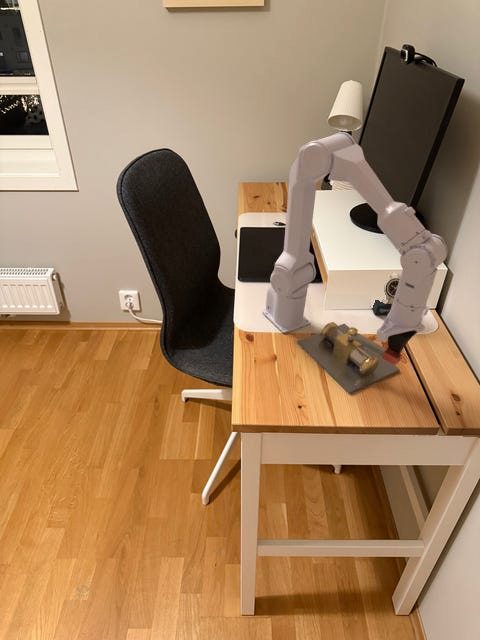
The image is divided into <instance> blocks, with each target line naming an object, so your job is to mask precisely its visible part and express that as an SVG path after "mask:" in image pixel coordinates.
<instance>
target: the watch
mask: <svg viewBox="0 0 480 640" xmlns="http://www.w3.org/2000/svg"><path fill="white" fill-rule="evenodd" d="M400 276H401V275H400V274H399V272H398V273H393V274H389V276H388V277H387V280H386V283H385V285H384V292H385V295H386V300H384V299H383V300H382V302H380V301H379V300H375V303H374V305H373V308H371V311H372V313H373V315H374V317H375V316H377V317H379V316H380V317H387V315H388V313H389V312H390V310H391V307H392V304H393V300H394V297H395V293H396V290H397V287H398V283H399V280H400Z"/></svg>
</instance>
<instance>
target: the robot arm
mask: <svg viewBox="0 0 480 640" xmlns="http://www.w3.org/2000/svg"><path fill="white" fill-rule="evenodd" d="M328 174H329V176H328ZM326 176H328V178H327V180H329V181H333V182H334V181H336V182H344V183H345V182H346V183H348V184H349V185H350V186H352V188H353V189H354V190H355V191H356V192H357V193H358V195H359V196H360V197H361V198H362V199H363V200H364V201H365V202H366V203H367V204H368V205H369V206H370V207H371V209H372V210H373V211H374V212H375V213H376V214H377V226H378V228H379V229H380V230H381V231H382V232H383V234H384V235H385V236H386V238H387V239H388V240H389V242H390V243H391V244H392V246H393V247H395V249H396V251H398V253H399V254H400V260H399V261H400V262H399V263H400V266H401V268H402V271H401V274H400V275H399V276H400V280H399V283H398V287H397V290H396V293H395V297H394V300H393V304H392V307H391V310H390V312H389V313H388V315H387V316H385V319H384V321H383V323H382V325H381V326H380V327H379V328H378V329H377V331H376V334H375V337H374V338H375V339H377V340H378V341H380V342H382V343H383V344H384V343H386V342H387V349H388V348H390V349H391V350H393V351H395V352H397V353H399V354H401V353H402V351H403V350H404V348H405V346H406V345H407V344H408V342H409V341H410V340H411V339H412V338H413V337H414V336H415V335H416V334H417V333H421V332H423V330H425V327H426V326H425V324H422V321H423V318H424V317H425V316H426V315H427V314H428V312H429V309H430V306H429V305H428V304H427V303H428V300H429V298H430V297H429V296H430V295H431V291H432V290H433V289H432V288H433V285H434V283H435V278H436V276H437V273H438V269H439V268H438V267H439V266H440V265H442V264H443V263H444V261H445V260H446V259H447V256H448V253H449V252H448V246H447V244H446V242H445V240H444V238H443V237H442V236H440V235H438V234H435V233H432V232H431V231H430V230H428V229H426V228H425V227H424V225H423V224H422V223H421V221H420V220H419V219H418V217H416V215H415V214H416V210H415V209H414V208H413V207H412V206H409V207H408V205H407V204H406V203H403V202H399V201H395V200H394V199H393V198H392V196H391V194H389V191H388V190H387V189H386V188H385V186H384V185H383V183H382V182H381V180H380V179H379V177H378V176H377V174H376V173H375V171H374V170H373V168H371V166H370V165H369V163H368V161H366V159H365V155H364V151H363V148H362V147H361V146H360V145H359V144H358V143H357V142H356V141H355V139H354V137H353V136H352V135H351V134H349V133H348V132H345V131H340V132H336V133H333V134H332V135H329V136H326V137H324V138H320V139H316V140H311V141H309V142H307V143H306V144H304V145H303V146H301V147H300V148H298V151H297V157H296V159H295V161H294V162H293V164H292V166H291V168H290V170H289V177H288V179H289V181H288V190H287V203H286V218H285V219H286V220H285V228H284V229H285V231H284V241H283V244H284V245H283V250H282V253H281V254H280V256H279V257H278V259H277V260H276V262H274V269H273V271H272V273H271V275H270V281H269V282H270V284H269V286H268V288H267V291H266V301H265V309H264V310H262V312H261V313H262V314H263V315H264V316H265V317H266V318H267V319H268V320H269V321H270V322H271V323H272V324H273V325H274V326H275V327H276V328H277V329H278V330H280V332H281V333H283V334H285V333H289V332H291V331H295V330H297V329H300V328H303V327H305V326H309V325H310V324H311V321H310V320H309V319H307V318H306V316H305V315H304V313H305V307H306V303H307V302H306V301H307V295H308V289H309V286H310V283H311V282H313V280H314V279H315V278H316V275H317V270H316V266H315V256H314V254H312V252H310V245H311V237H312V229H313V222H314V221H313V220H314V210H315V203H316V192H317V185H318V182H319V181H320V180H321V179H324V178H325V177H326Z"/></svg>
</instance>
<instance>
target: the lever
mask: <svg viewBox="0 0 480 640" xmlns="http://www.w3.org/2000/svg"><path fill="white" fill-rule="evenodd" d="M348 334H349V335H348V341H351V342H352V341H354V340H355V341H357V342H358V343H360V344H362V345H364V346H365V347H367V348H369V349H371V350H373V351H374V352H376V353H378V354H380V355H381V356H382V358H383V359H385V360H387V361H389V362H390V363H392V364H394V365H395V366H397V364H398V363H399V362H400V361H401V358H402V354H401V353H400V354H399V353H397V352H395V351H393V350H391V349H390V348H388V347H387V348H385V347H384V346H382V345H380V344H379V343H377V342H375V341H374V340H371V339H370V338H367V337H366V336H364V335H363V334H360V333H359V330H358V329H357V328H356V327H349V329H348Z"/></svg>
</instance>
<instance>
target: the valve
mask: <svg viewBox="0 0 480 640" xmlns="http://www.w3.org/2000/svg"><path fill="white" fill-rule="evenodd" d="M349 328H350V327H349V326H348V325H347V324H346V323H342V324H340V325H338V324H337V323H336V322H334V321H332V322H328V323H327V324H326V325H325V326H324V327H323V328H322V329H321V332H317V333H315V334H312V335H310V336H307V337H304V338H301V339H299V340H296V342H297V345H298V346H300V347H301V349H303V351H304V352H305V353H306V354H307V355H308V356H310V358H312V359H313V360H314V362H316V363H317V365H319V366H320V367H321V368H322V369H323V370H324V371H325V372H326V373H327V374H328V375H329V376H330V377H331V378H332V379H333V380H334V381H335V382H336V383H337V384H338V385H339V386H340V387H341V388H343V389H344V390H345V391H346V392H347V394H349V395H351V394H354V393H355V392H357V391H360V390H362V389H364V388H366V387H369V386H371V385H373V384H375V383H378V382H380V381H382V380H384V379H386V378H388V377H390V376H392V375H395V374H398V373H399V372H400V371H401V369H400V368H399V367H398V366H397V365H394V364H392V363H390V362H389V361H387V360H385V359H383V358H382V356H381V355H380V354H378V353H376V352H374V351H373V350H371V349H369V348H367V347H365V346H364V345H362V344H360V343H358V342H357V341H355V340H354V341H352V342H351V341H348V335H349V334H348V329H349Z"/></svg>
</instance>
